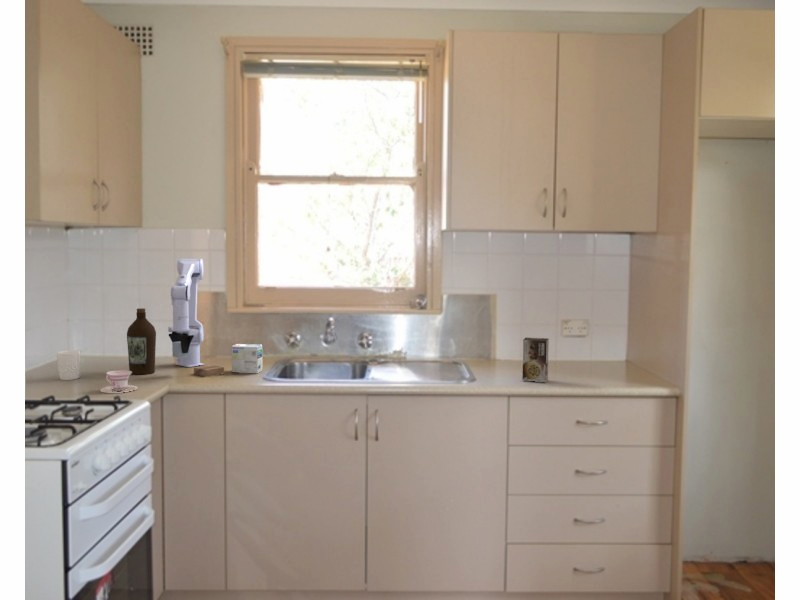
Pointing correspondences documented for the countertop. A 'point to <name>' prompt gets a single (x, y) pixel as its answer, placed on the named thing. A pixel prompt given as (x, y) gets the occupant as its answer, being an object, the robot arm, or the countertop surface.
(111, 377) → the teacup
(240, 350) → the light bulb box
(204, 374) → the walnut block
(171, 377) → the countertop surface
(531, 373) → the coffee box
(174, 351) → the blue grey block
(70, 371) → the white cup
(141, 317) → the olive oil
